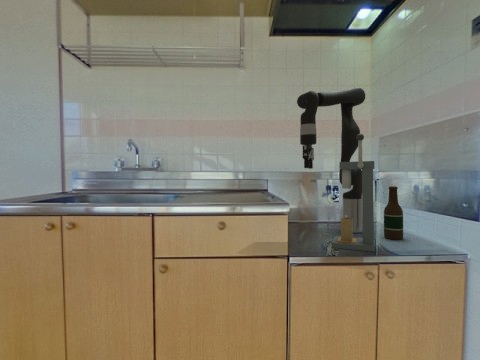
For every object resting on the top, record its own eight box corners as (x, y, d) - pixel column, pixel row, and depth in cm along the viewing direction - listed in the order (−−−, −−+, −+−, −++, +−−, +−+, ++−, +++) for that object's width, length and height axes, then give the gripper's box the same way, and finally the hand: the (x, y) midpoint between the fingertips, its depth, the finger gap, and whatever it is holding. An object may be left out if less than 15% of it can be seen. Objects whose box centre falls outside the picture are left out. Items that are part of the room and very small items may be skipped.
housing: (341, 238, 115) (341, 214, 115) (352, 238, 113) (352, 215, 113) (340, 240, 111) (340, 216, 111) (352, 241, 109) (352, 216, 109)
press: (335, 240, 121) (334, 139, 120) (374, 243, 114) (373, 136, 113) (331, 247, 109) (330, 135, 108) (375, 251, 102) (374, 131, 101)
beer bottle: (392, 240, 119) (392, 186, 118) (380, 236, 126) (379, 186, 126) (407, 239, 120) (407, 186, 120) (394, 235, 128) (393, 186, 127)
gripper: (313, 131, 119) (313, 167, 120) (318, 135, 132) (319, 168, 132) (296, 133, 123) (297, 168, 123) (303, 137, 135) (304, 168, 136)
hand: (308, 168), depth 128 cm, fingers open, 8 cm apart
